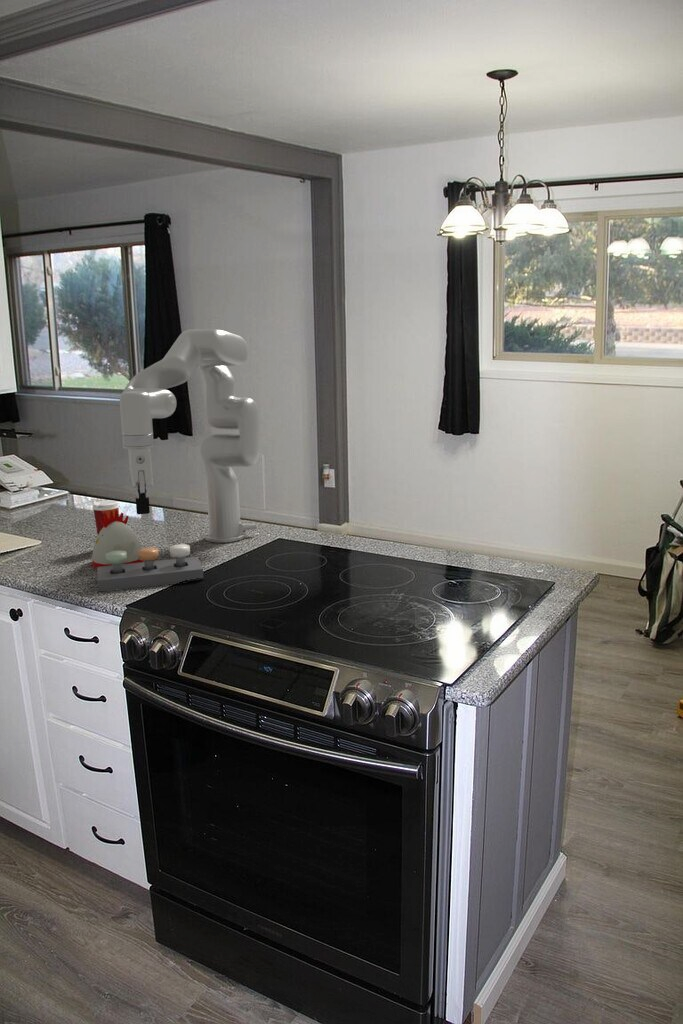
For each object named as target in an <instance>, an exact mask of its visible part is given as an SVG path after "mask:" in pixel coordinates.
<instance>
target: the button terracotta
mask: <svg viewBox="0 0 683 1024" xmlns="http://www.w3.org/2000/svg"><path fill="white" fill-rule="evenodd" d="M159 558H160V553H159V548H158V547H154V546H153V547H152V546H151V547H142V549H139V550H138V559H139V560H143V561H144V565H145V570H153V569H154V561H155V560H157V559H159Z"/></svg>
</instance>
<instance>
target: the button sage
mask: <svg viewBox="0 0 683 1024" xmlns="http://www.w3.org/2000/svg"><path fill="white" fill-rule="evenodd" d="M105 555H106V563H108V564H112V568H113V573H114V574H117V573H122V572H123V571H122V563H123V562H126V561H127V553H126V551H111V552H108V553H106V554H105Z"/></svg>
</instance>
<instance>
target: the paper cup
mask: <svg viewBox="0 0 683 1024" xmlns="http://www.w3.org/2000/svg"><path fill="white" fill-rule="evenodd" d="M92 505H93V506H92V510H93V514H94V520H95V526H96V528H95V529H96V534H97V535H98V534H99V532H100V531H101V530H102V528H103V527H104V526H103V525H102V523H101V521H100V520H99V518H101V519H102V520H104V512H105V513H106V515H107V517H108V519H109V517H110V510H111V511H112V512H113V516H115V510H117V511H118V514H119V515H120V513H119V512H120V511H119V508H120V505H119V503H118V501H116V500H101V501H96V502H93V504H92Z"/></svg>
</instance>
